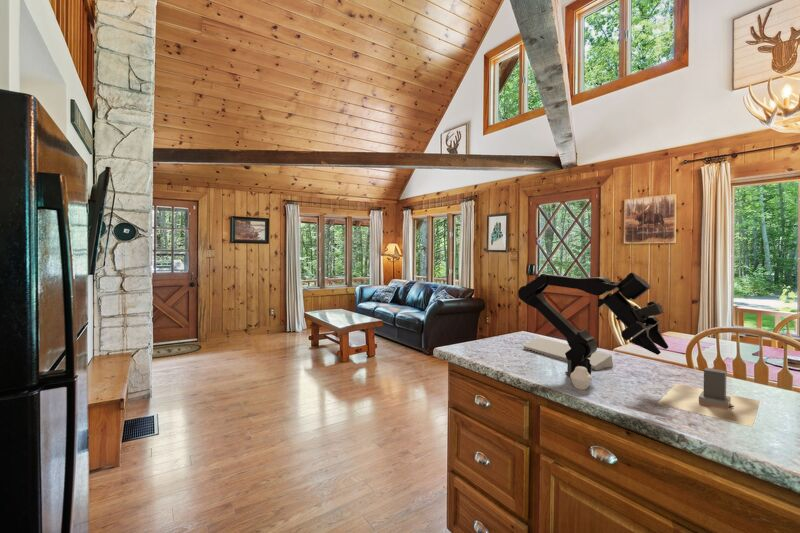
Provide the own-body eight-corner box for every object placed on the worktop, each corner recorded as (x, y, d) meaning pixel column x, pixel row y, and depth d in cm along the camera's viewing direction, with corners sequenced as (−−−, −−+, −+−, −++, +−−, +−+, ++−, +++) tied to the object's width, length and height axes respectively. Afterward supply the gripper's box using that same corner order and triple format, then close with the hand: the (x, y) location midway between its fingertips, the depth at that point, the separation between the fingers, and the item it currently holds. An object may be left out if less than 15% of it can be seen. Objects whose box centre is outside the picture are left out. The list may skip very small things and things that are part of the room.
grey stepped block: (698, 403, 103) (699, 370, 103) (702, 397, 107) (703, 365, 107) (727, 409, 99) (728, 375, 99) (730, 403, 103) (731, 370, 103)
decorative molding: (596, 378, 137) (613, 367, 141) (594, 366, 136) (611, 355, 141) (524, 355, 167) (540, 346, 171) (522, 345, 166) (538, 337, 171)
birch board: (654, 408, 103) (654, 403, 103) (674, 386, 120) (674, 382, 120) (754, 434, 89) (755, 428, 89) (762, 405, 105) (762, 400, 105)
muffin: (569, 389, 117) (570, 367, 117) (569, 383, 123) (570, 362, 122) (592, 392, 115) (592, 369, 114) (591, 386, 120) (591, 364, 120)
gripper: (635, 295, 108) (680, 340, 101) (652, 290, 121) (694, 330, 113) (604, 318, 114) (645, 363, 107) (624, 312, 127) (662, 351, 120)
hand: (663, 350), depth 111 cm, fingers open, 9 cm apart
